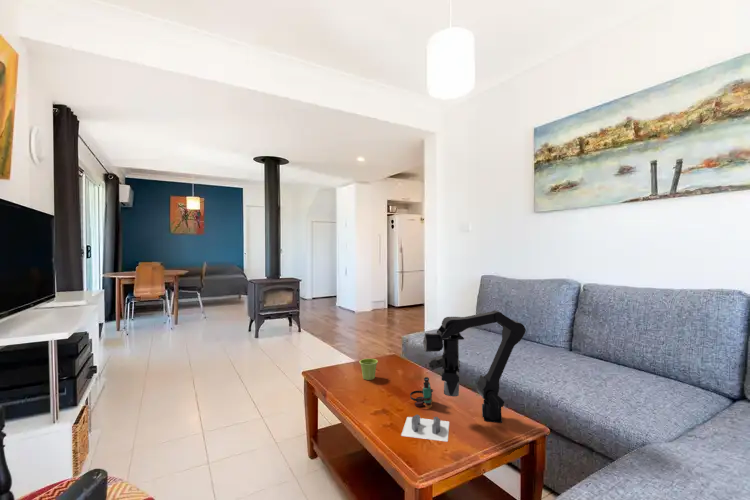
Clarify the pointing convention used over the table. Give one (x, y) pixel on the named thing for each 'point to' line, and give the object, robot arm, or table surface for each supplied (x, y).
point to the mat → (426, 430)
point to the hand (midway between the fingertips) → (451, 391)
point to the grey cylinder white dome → (448, 390)
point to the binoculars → (424, 395)
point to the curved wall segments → (434, 426)
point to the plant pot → (368, 368)
